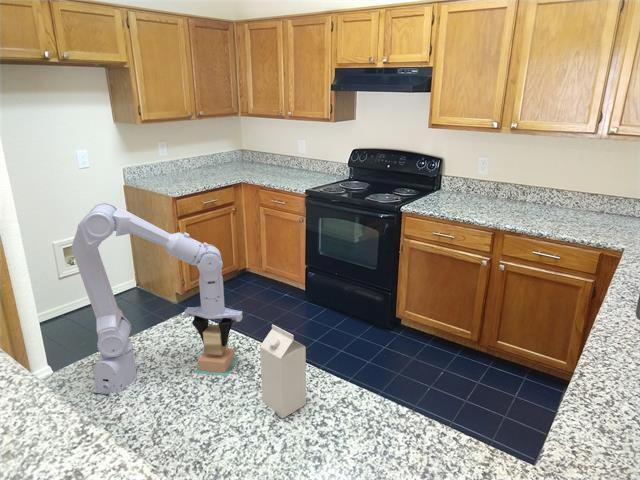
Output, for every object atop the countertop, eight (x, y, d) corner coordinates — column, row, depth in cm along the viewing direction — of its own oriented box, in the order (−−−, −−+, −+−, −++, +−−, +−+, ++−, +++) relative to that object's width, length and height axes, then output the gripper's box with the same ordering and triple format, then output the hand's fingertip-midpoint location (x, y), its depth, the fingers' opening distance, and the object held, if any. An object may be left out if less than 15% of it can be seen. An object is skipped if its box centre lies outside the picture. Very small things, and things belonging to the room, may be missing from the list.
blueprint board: (229, 385, 110) (229, 382, 110) (183, 380, 112) (183, 377, 112) (248, 355, 124) (248, 352, 123) (206, 351, 126) (206, 348, 125)
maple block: (221, 355, 114) (219, 333, 113) (204, 353, 115) (202, 332, 113) (227, 346, 118) (226, 325, 117) (211, 345, 119) (210, 324, 118)
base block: (225, 373, 114) (224, 362, 113) (198, 370, 115) (197, 360, 114) (234, 358, 120) (234, 348, 120) (209, 356, 122) (209, 346, 121)
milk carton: (286, 391, 108) (284, 319, 103) (306, 405, 103) (305, 329, 98) (262, 404, 103) (259, 329, 98) (282, 419, 98) (280, 341, 93)
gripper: (245, 290, 115) (247, 338, 119) (191, 286, 117) (195, 333, 121) (235, 301, 108) (238, 352, 112) (178, 297, 110) (183, 347, 114)
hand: (215, 343), depth 116 cm, fingers closed on maple block, 4 cm apart
